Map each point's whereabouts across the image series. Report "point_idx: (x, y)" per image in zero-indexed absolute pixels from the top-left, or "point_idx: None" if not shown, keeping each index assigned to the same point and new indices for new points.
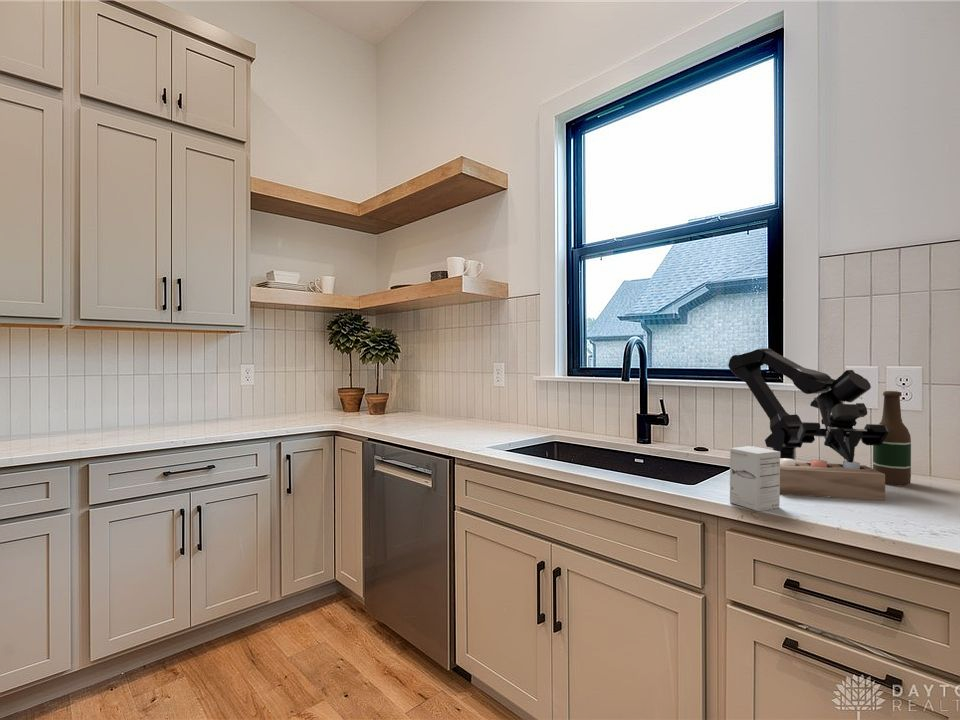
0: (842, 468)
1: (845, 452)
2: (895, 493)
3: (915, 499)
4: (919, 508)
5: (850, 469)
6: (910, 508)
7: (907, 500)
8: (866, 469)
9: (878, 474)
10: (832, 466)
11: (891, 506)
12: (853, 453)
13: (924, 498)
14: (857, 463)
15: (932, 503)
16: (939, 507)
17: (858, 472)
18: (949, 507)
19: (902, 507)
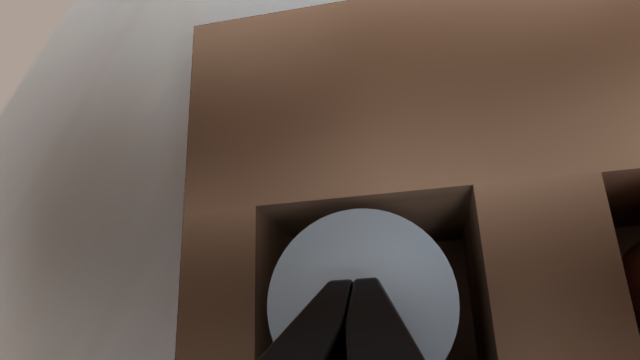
0: (497, 167)
1: (411, 343)
2: (107, 356)
3: (78, 219)
4: (168, 23)
5: (425, 135)
6: (211, 6)
7: (136, 176)
8: (258, 197)
9: (244, 18)
10: (595, 253)
11: (288, 7)
12: (288, 335)
13: (13, 264)
14: (307, 245)
15: (44, 154)
16: (62, 81)
17: (392, 18)
18: (16, 99)
19: (241, 9)
